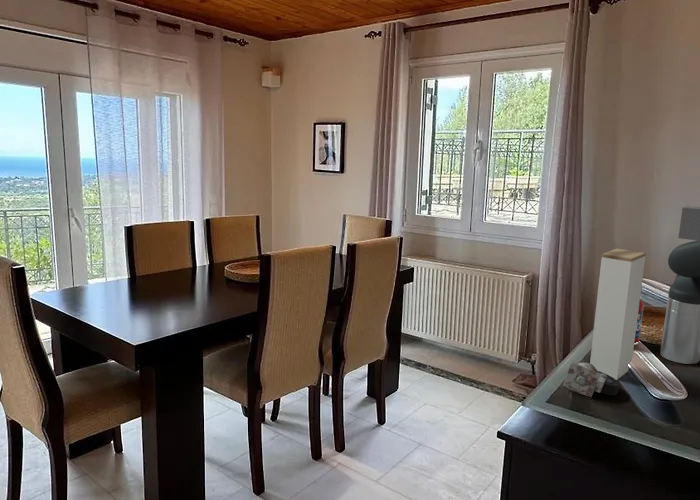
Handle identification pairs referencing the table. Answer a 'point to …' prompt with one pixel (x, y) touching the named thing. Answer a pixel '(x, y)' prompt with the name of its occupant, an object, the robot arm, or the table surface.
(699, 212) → the grey hammer
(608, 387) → the grey speckled two-tone part
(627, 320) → the plinth
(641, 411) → the table surface
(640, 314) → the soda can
